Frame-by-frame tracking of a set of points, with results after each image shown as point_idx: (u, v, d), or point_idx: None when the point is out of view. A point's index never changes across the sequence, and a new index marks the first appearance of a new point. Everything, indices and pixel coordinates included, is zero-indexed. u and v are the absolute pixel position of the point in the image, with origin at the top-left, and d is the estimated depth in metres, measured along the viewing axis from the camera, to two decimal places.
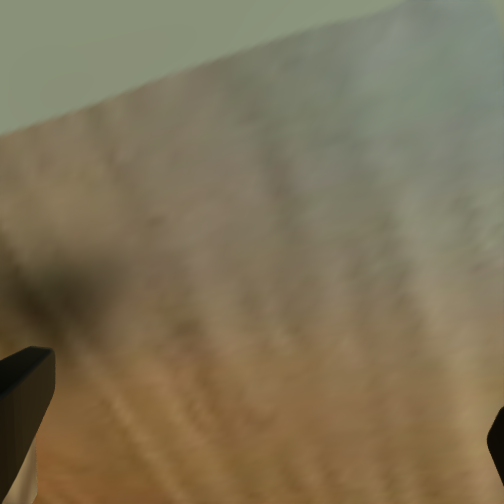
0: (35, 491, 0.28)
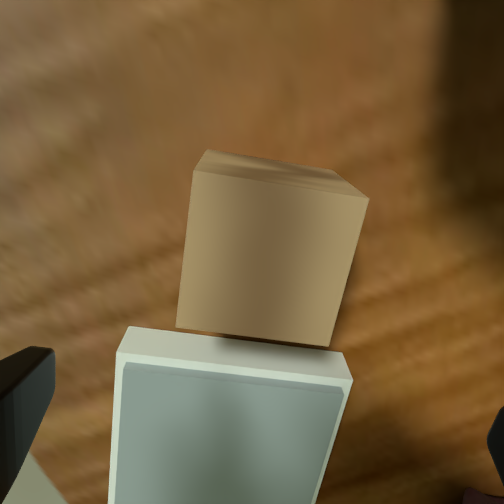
0: (321, 168, 0.19)
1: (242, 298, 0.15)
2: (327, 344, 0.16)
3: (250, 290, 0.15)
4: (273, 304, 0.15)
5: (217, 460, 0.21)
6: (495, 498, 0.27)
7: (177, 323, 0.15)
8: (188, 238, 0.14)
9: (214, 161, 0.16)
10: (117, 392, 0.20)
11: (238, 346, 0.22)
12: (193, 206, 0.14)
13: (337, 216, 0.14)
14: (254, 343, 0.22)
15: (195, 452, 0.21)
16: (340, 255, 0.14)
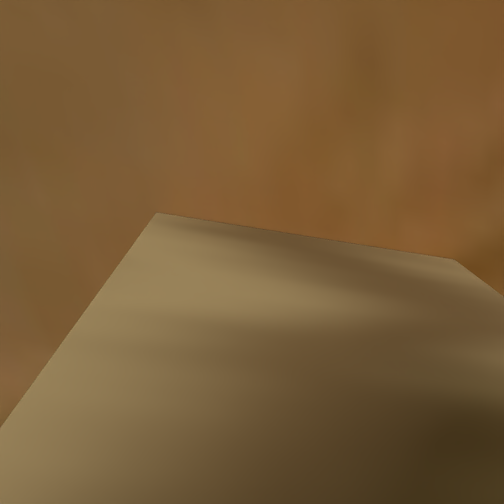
0: (436, 261, 0.08)
1: None
2: None
3: None
4: None
5: None
6: None
7: None
8: None
9: (146, 301, 0.04)
10: None
11: None
12: None
13: None
14: None
15: None
16: None
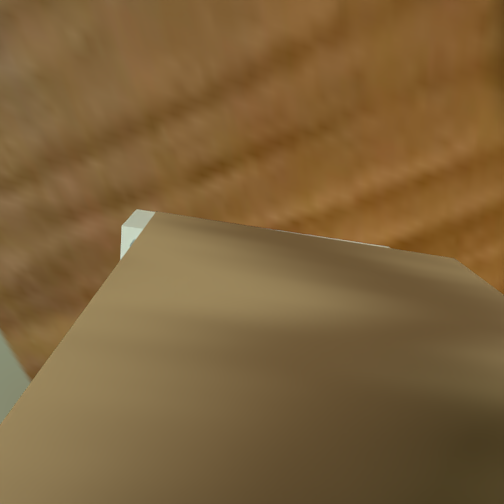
0: (437, 261, 0.08)
1: None
2: None
3: None
4: None
5: None
6: None
7: None
8: None
9: (146, 300, 0.04)
10: None
11: None
12: None
13: None
14: None
15: None
16: None
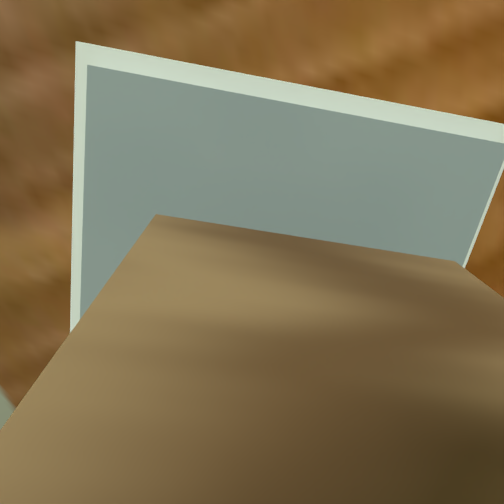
0: (437, 263, 0.08)
1: None
2: None
3: None
4: None
5: None
6: None
7: None
8: None
9: (145, 305, 0.04)
10: (80, 141, 0.11)
11: None
12: None
13: None
14: None
15: None
16: None
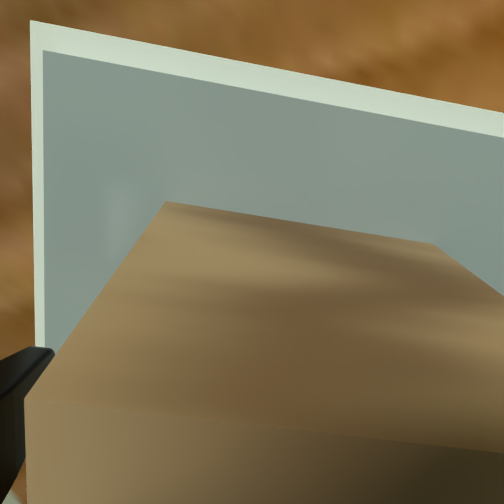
0: (417, 245, 0.09)
1: None
2: None
3: None
4: None
5: None
6: None
7: None
8: None
9: (163, 268, 0.05)
10: (39, 149, 0.09)
11: None
12: None
13: None
14: None
15: None
16: None
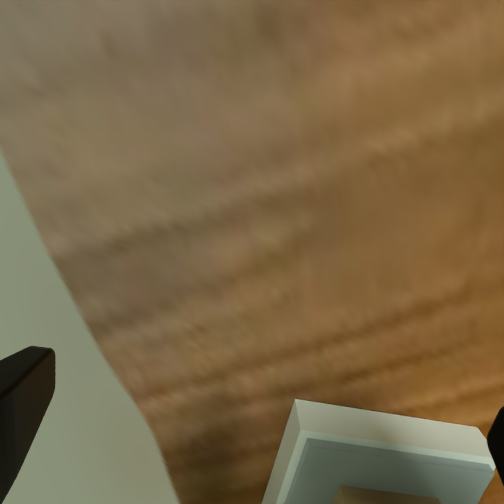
0: (432, 502, 0.23)
1: None
2: None
3: None
4: None
5: None
6: None
7: None
8: None
9: None
10: (292, 462, 0.23)
11: (392, 421, 0.24)
12: None
13: None
14: (403, 417, 0.25)
15: None
16: None
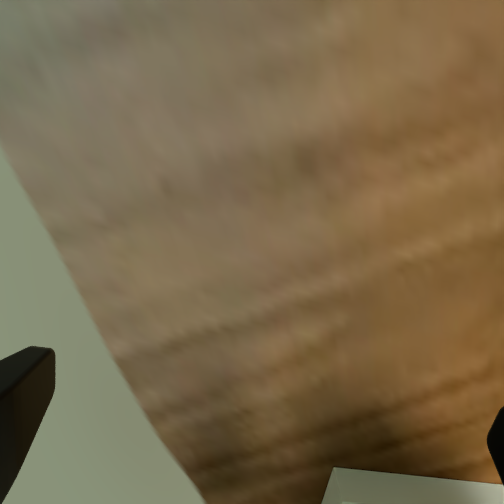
0: None
1: None
2: None
3: None
4: None
5: None
6: None
7: None
8: None
9: None
10: None
11: (424, 485, 0.26)
12: None
13: None
14: (434, 479, 0.27)
15: None
16: None
